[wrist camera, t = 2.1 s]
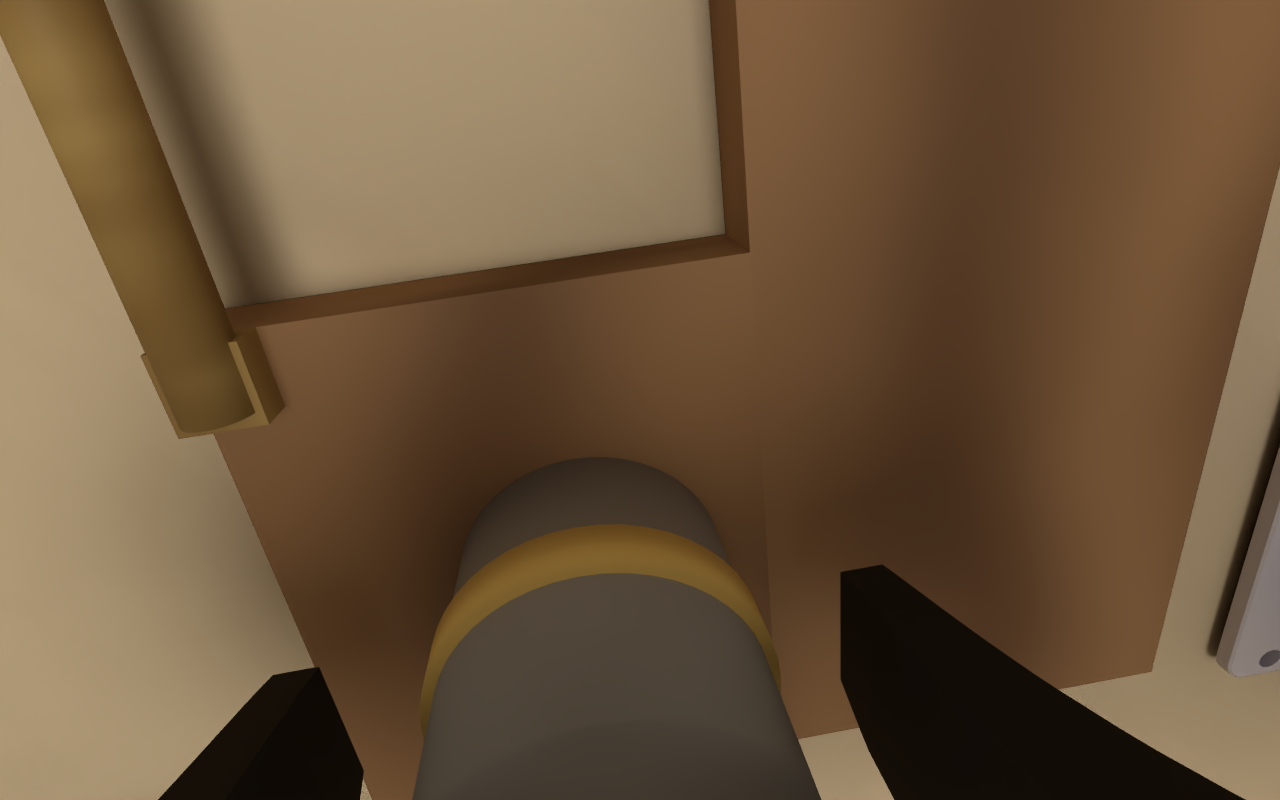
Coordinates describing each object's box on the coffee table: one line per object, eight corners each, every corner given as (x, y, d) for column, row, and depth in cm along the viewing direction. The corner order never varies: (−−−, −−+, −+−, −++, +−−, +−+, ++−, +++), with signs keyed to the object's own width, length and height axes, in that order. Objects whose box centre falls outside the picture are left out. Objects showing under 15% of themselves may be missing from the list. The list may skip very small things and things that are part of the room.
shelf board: (1457, -1152, 6) (1951, -1842, 4) (1098, 621, 15) (1192, 710, 13) (-338, -1082, 6) (-957, -1904, 3) (392, 753, 15) (362, 872, 12)
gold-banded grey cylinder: (717, 426, 11) (842, 664, 6) (738, 650, 13) (844, 959, 8) (418, 476, 10) (313, 766, 6) (486, 698, 12) (446, 1047, 8)
